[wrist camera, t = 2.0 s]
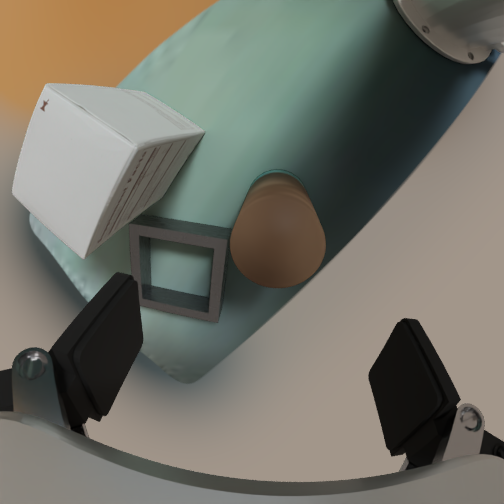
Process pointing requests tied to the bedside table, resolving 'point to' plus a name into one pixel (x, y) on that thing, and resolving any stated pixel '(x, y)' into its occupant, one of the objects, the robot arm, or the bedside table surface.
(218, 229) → the socket
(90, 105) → the supplement box
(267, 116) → the bedside table surface
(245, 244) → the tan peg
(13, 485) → the robot arm
